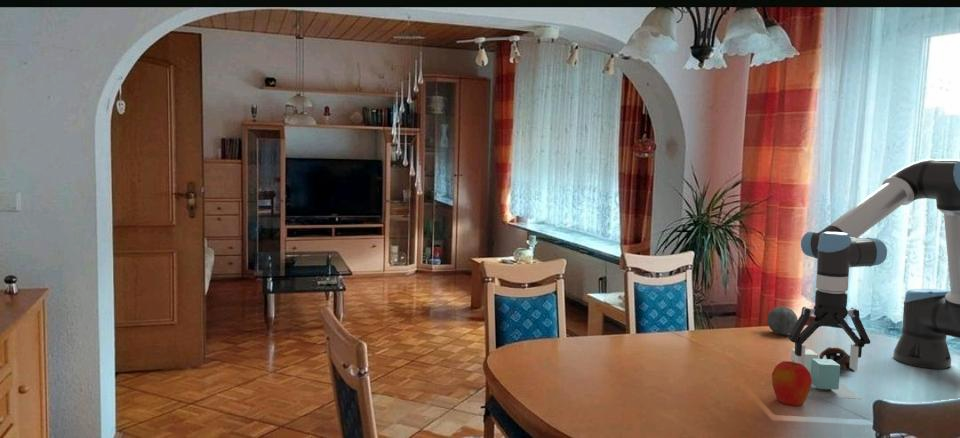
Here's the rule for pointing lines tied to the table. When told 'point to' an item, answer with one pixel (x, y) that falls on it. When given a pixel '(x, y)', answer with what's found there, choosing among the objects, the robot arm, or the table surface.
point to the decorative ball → (782, 320)
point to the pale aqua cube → (825, 373)
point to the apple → (791, 383)
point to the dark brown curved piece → (837, 357)
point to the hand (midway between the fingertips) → (826, 368)
